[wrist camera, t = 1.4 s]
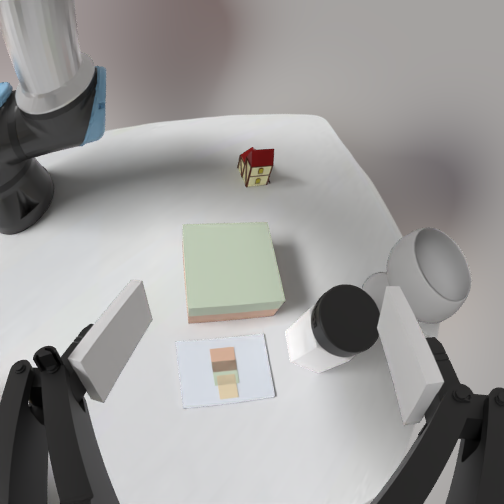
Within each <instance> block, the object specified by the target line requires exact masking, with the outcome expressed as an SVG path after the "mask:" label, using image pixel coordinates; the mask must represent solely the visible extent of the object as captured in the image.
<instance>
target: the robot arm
mask: <svg viewBox="0 0 504 504" xmlns="http://www.w3.org/2000/svg"><path fill="white" fill-rule="evenodd" d="M0 30H1V33H2V36H3V39H4V42H5V45H6V48H7V51H8V53H9V56H10V59H11V61H12V64H13V66H14V69H15V72H16V74H17V77H18V79H19V81H20V82H19V84H18V87H17V89H16V90H15V91H12V86H11V85H10V83H8V82H5V83H4V82H2V83H0V233H3V234H14V233H17V232H20V231H23V230H25V229H26V228H28V227H30V226H31V225H32V224H34V223H35V222H36V221H37V220H38V219H39V218H40V217H41V216H42V215H43V214H44V212H45V211H46V210H47V208H48V206H49V204H50V202H51V200H52V197H53V193H54V185H53V182H52V179H51V177H50V174H49V172H48V171H47V170H46V169H45V168H44V167H43V166H41V164H40V163H39V162H38V161H37V160H36V159H35V158H34V157H38V156H41V155H45V154H48V153H52V152H56V151H60V150H64V149H68V148H73V147H77V146H83V145H85V144H87V143H90V142H94V141H97V140H99V139H100V138H101V137H102V136H103V135H104V132H105V98H106V69H105V68H104V67H99V66H95V67H94V63H93V60H92V59H91V57H90V56H88V55H87V54H86V53H83V52H80V46H79V39H78V31H77V23H76V14H75V5H74V0H0ZM152 320H153V319H152V316H151V312H150V308H149V305H148V301H147V297H146V293H145V289H144V285H143V281H141V280H130V282H129V283H128V284H127V285H126V286H125V287H124V289H123V290H122V291H121V292H120V293H119V295H118V296H117V297H116V298H115V299H114V300H113V302H112V303H111V304H110V305H109V306H108V308H107V309H106V310H105V311H104V313H103V314H102V315H101V316H100V317H99V319H98V320H97V321H96V322H95V324H90V325H88V326H87V327H86V328H84V329H83V330H82V331H81V332H80V334H79V335H78V337H76V339H75V340H74V342H72V344H71V345H70V346H69V347H68V349H67V350H66V351H65V353H64V354H63V355H62V356H61V358H60V356H59V354H58V352H57V350H56V348H54V347H53V346H45V347H43V348H41V349H39V350H38V351H37V352H36V353H35V354H34V357H33V360H34V362H35V363H36V365H37V367H38V368H32V366H31V364H30V363H29V361H27V360H20V361H18V362H16V363H15V364H14V365H13V366H12V367H11V369H10V372H9V375H8V379H7V382H6V385H5V388H4V392H3V395H2V399H1V402H0V504H47V471H48V450H49V455H50V460H51V465H52V470H53V475H54V479H55V483H56V487H57V491H58V495H59V499H60V504H120V503H119V501H118V499H117V496H116V494H115V491H114V489H113V486H112V484H111V481H110V479H109V476H108V473H107V471H106V468H105V465H104V462H103V459H102V456H101V453H100V450H99V447H98V444H97V440H96V437H95V434H94V430H93V427H92V423H91V419H90V415H89V411H88V407H87V403H86V400H85V398H84V395H85V393H86V391H87V393H88V394H89V396H90V398H91V399H93V400H96V401H99V402H103V403H104V402H105V400H106V398H107V396H108V395H109V393H110V391H111V389H112V388H113V386H114V384H115V382H116V381H117V379H118V377H119V375H120V374H121V372H122V370H123V368H124V367H125V365H126V363H127V362H128V360H129V358H130V356H131V355H132V353H133V351H134V350H135V348H136V346H137V345H138V343H139V341H140V340H141V338H142V336H143V335H144V333H145V331H146V330H147V328H148V326H149V325H150V323H151V322H152ZM377 329H378V333H379V336H380V339H381V342H382V346H383V349H384V352H385V356H386V359H387V363H388V366H389V370H390V373H391V377H392V381H393V384H394V388H395V392H396V396H397V400H398V404H399V408H400V412H401V416H402V421H403V425H409V424H415V423H419V422H420V421H421V420H422V418H423V416H424V415H425V419H426V424H425V425H424V427H423V428H422V430H421V431H420V432H419V434H418V435H419V436H418V438H417V439H416V441H415V442H414V444H413V445H412V447H411V449H410V450H409V452H408V453H407V455H406V456H405V458H404V459H403V461H402V462H401V464H400V465H399V467H398V468H397V470H396V471H395V472H394V474H393V475H392V477H391V478H390V479H389V481H388V482H387V483H386V485H385V486H384V487H383V489H382V490H381V491H380V492H379V494H378V495H377V496H376V497H375V499H374V500H373V501H372V502H371V504H423V503H424V501H425V500H426V498H427V497H428V495H429V493H430V492H431V490H432V488H433V487H434V485H435V483H436V482H437V480H438V478H439V476H440V474H441V472H442V471H443V469H444V467H445V465H446V463H447V461H448V459H449V457H450V455H451V453H452V451H453V449H454V447H455V445H456V443H457V440H458V439H461V442H460V448H459V453H458V458H457V462H456V467H455V471H454V476H453V479H452V483H451V487H450V491H449V494H448V497H447V501H446V504H504V389H503V388H495V389H493V390H492V391H491V392H490V394H489V395H478V394H473V392H472V391H471V390H470V388H469V387H467V386H466V385H463V384H460V382H459V380H458V378H457V376H456V373H455V371H454V369H453V367H452V364H451V362H450V360H449V358H448V356H447V354H446V352H445V350H444V347H443V346H442V344H441V343H440V342H439V341H438V340H437V339H436V338H435V337H432V338H425V336H424V334H423V332H422V330H421V328H420V326H419V324H418V322H417V319H416V317H415V315H414V313H413V311H412V309H411V307H410V305H409V303H408V301H407V299H406V298H405V296H404V294H403V292H402V290H401V288H400V286H386V290H385V295H384V299H383V304H382V309H381V313H380V317H379V321H378V325H377ZM28 401H29V405H28Z"/></svg>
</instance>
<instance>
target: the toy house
mask: <svg viewBox="0 0 504 504" xmlns="http://www.w3.org/2000/svg"><path fill="white" fill-rule="evenodd" d="M273 161H274V149H263V150H256V149H254V148H253V147H252V148H250V149H249V150H247V151H246V152H244V153H243V154H241V155H240V157H239V162H238V166H237V168H238V169H239V171H240V173H241V177H242V178H243V180H244V182H245V186H246V187H249V186H258V185H267V183H268V182H270V181H269V177H270V174H271V171H272V167H273Z"/></svg>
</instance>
